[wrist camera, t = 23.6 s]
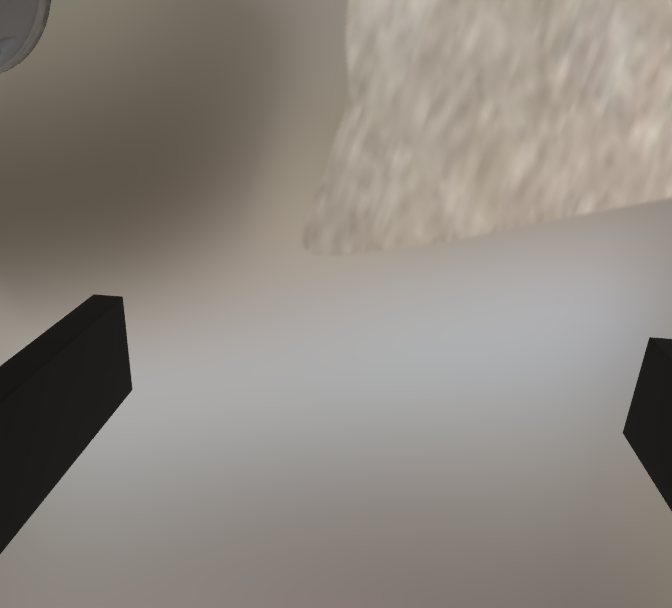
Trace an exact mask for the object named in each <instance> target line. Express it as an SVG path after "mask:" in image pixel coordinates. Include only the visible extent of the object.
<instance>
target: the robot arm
mask: <svg viewBox="0 0 672 608" xmlns="http://www.w3.org/2000/svg"><path fill="white" fill-rule="evenodd" d="M50 3H51V0H0V73H2V72H5V71H7V70H9V69H11V68H13V67H14V66H16V65H17V64H19V63H20V62H21V61H23V60H24V59H25V58H26V57H27V56H28V55H29V54H30V52H31V51H32V50H33V49H34V47H35V46H36V44H37V43H38V41H39V39H40V37H41V35H42V33H43V31H44V28H45V26H46V22H47V19H48V15H49V10H50ZM131 390H132V382H131V373H130V363H129V354H128V345H127V334H126V325H125V315H124V306H123V297H119V296H105V295H93V296H91V297H90V298H89V299H87V300H86V301H85V302H84V303H82V304H81V305H80V306H78V307H77V308H76V309H74V310H73V311H72V312H70V313H69V314H68V315H66V316H65V317H64V318H63V319H62V320H60V321H59V322H57V323H56V324H55V325H53V326H52V327H51V328H49V329H48V330H47V331H46V332H44V333H43V334H42V335H40V336H39V337H38V338H37V339H35V340H34V341H33V342H31V343H30V344H29V345H27V346H26V347H25V348H23V349H22V350H21V351H20V352H18V353H17V354H16V355H14V356H13V357H12V358H10V359H9V360H8V361H6V362H5V363H4V364H3V365H1V366H0V554H1V552H2V551H3V550H4V549H5V548H6V546H7V545H8V544H9V542H10V541H11V540H12V539H13V537H14V536H15V535H16V534H17V533H18V531H19V530H20V529H21V528H22V526H23V525H24V524H25V523H26V521H27V520H28V519H29V518H30V516H31V515H32V514H33V513H34V511H35V510H36V509H37V508H38V506H39V505H40V504H41V503H42V501H43V500H44V499H45V498H46V496H47V495H48V494H49V493H50V491H51V490H52V489H53V488H54V487H55V485H56V484H57V483H58V482H59V480H60V479H61V478H62V477H63V475H64V474H65V473H66V471H67V470H68V469H69V467H71V465H72V464H73V463H74V462H75V460H76V459H77V458H78V457H79V455H80V454H81V453H82V451H83V450H84V449H85V448H86V447H87V445H88V444H89V443H90V442H91V440H92V439H93V438H94V437H95V435H96V434H97V433H98V432H99V430H100V429H101V428H102V427H103V425H104V424H105V423H106V422H107V421H108V419H109V418H110V417H111V416H112V414H113V413H114V412H115V411H116V409H117V408H118V407H119V406H120V404H121V403H122V402H123V400H124V399H125V398H126V397H127V396H128V394H129V393H130V392H131ZM623 434H624V435H625V437H626V439H627V440H628V442H629V444H630V445H631V447H632V448H633V450H634V452H635V453H636V455H637V456H638V458H639V460H640V461H641V462H642V464H643V466H644V468H645V469H646V471H647V472H648V474H649V476H650V477H651V479H652V480H653V482H654V483H655V485H656V487H657V488H658V490H659V492H660V493H661V495H662V496H663V498H664V500H665V501H666V503H667V504H668V506H669V508H670V509H671V511H672V339H663V338H651V337H650V338H649V341H648V345H647V348H646V352H645V355H644V359H643V363H642V366H641V370H640V373H639V377H638V380H637V384H636V387H635V391H634V395H633V398H632V402H631V406H630V409H629V412H628V416H627V420H626V423H625V427H624V430H623Z"/></svg>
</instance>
